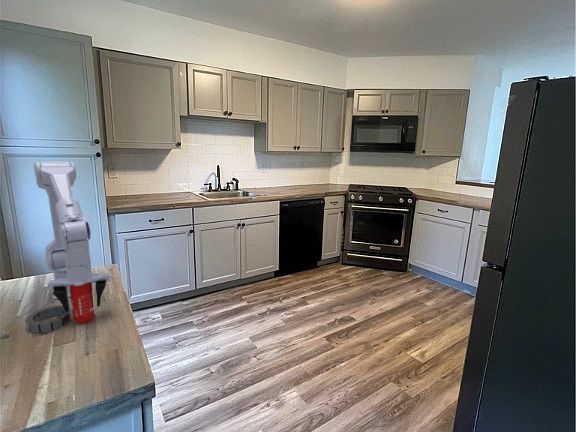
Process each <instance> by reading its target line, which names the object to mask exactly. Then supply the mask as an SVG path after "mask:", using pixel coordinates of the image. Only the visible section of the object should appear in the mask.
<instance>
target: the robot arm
mask: <svg viewBox="0 0 576 432" xmlns="http://www.w3.org/2000/svg"><path fill="white" fill-rule="evenodd" d="M33 165H34V166H33V167H34V168H33V169H34V174H35V175H34V176H35V180H36V181H35V182H36V185H37V187H38V188H39V189H42V190H45V192H46V194H47V197H48V203H49V210H50V215H51V216H50V217H51V223H52V229H53V230H52V231H53V237H54V239H53V240H52V241H50V242H49V243H48V244H47V245H46V247H45V261H46V262H45V263H46V266H47V268H48V270H50V271H53V272H52V273H53V279H51V280H48V281H47V288H48V290H50V291H51V290H53V291H52V294H53V297H52V299H53V300H58V301H59V302H60V303H61V306H63V307H64V310H65V312H68V311H69V308H70V304H69V303H70V302H69V297H70V298H71V294H70V285H74V286H80V285H83V284H85V283H89V282H91V283H92V284H94V283H95V286H94V287H95V293H96V306H97V307H98V308H99V307H101V298H102V296H103V294H104V293H103V292H104V290H105V289H106V285H107V282H108V283H109V282H111V274H110V272H106V273H104V272H103V273H100V272H98V273H96V272H95V273H92V263H91V253H90V246H89V245H90V242H89V241H90V240H91V232H92V231H91V226H90V223H89V221H88V219H87V218H86V216H84V214H83V212H82V208H81V205H80V202H79V201H78V200H76V199H74V198H73V192H72V187H73V186H74V184H75V182H76V180H77V169H76V165H75V163H74V162H73V161H72V160H68V161H38V160H36V161H35V162H34V164H33Z"/></svg>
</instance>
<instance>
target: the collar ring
mask: <svg viewBox="0 0 576 432" xmlns="http://www.w3.org/2000/svg"><path fill="white" fill-rule="evenodd" d="M51 317H55V318H53V319H50V320H45V321H41V320H44V319H47V318H51ZM72 318H73V315H72V308H70V307H69V311H68V312H65V310H64V307H63V305H54V306H53V305H52V306H47V307H44V308H40V309H38V310H36V311H34V312H32V313H30V314H29V315H27V316H26V318H25V328H26V330H27V331H28V332H29V333H31V334H43V333H49V332H53V331H56V330H59V329H60V328H63V327H65V326H66V325H68V324H69V323H70V322H71V321H72Z"/></svg>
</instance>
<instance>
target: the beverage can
mask: <svg viewBox="0 0 576 432" xmlns="http://www.w3.org/2000/svg"><path fill="white" fill-rule="evenodd" d="M70 294H71V297H70V299H71V312H72V318H73V319H72V320H74V322H75V323H76V325H77V324H78V325H83V324H88V323H90V322H92V321H93V320H94V318H95V316H96V315H95V302H94V295H93V294H94V293H93V283H91V282H89V283H85V284H83V285H80V286H74V285H70Z"/></svg>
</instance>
